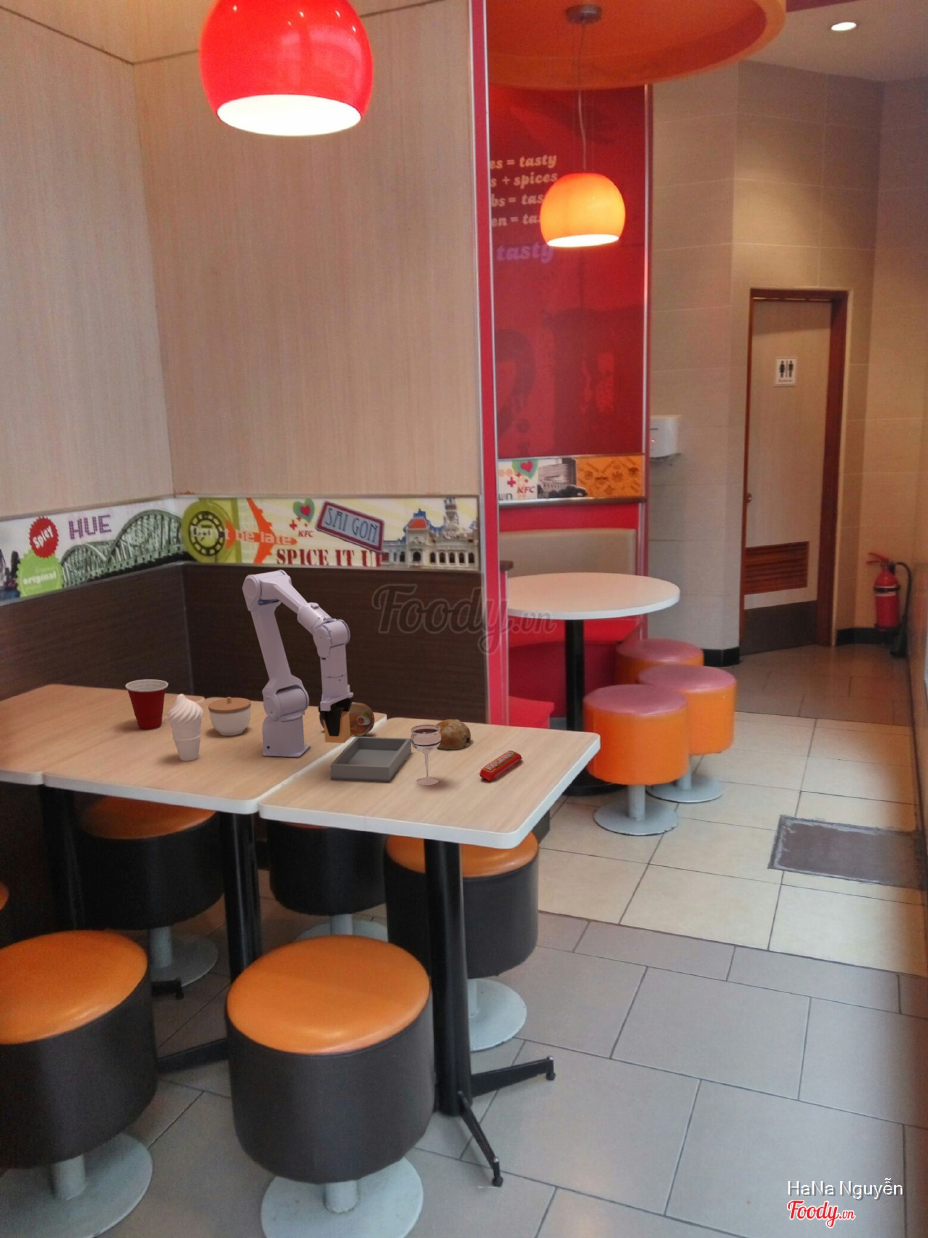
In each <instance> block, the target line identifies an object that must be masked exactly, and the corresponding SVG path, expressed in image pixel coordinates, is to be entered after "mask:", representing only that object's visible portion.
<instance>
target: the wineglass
mask: <svg viewBox="0 0 928 1238" xmlns="http://www.w3.org/2000/svg"><path fill="white" fill-rule="evenodd" d="M440 729H441V728H440V727H439V726H436V724H418V725H415V726H413V727H411V728H410V729H409V730H410V732H411V735H410V739H411V746H412V747H413V748H414V749H415V750H416V751H418V752H421V753H423V755H424V763H425V771H426V773H425V775H426V776H425V777H420V778H418V779H417V780H416V783H417V785H421V786H433V785H436V784H438V783H439V781H440V780H439V779H438V778H437V777H434V776H429V755H430V754H431V752H433V751H436V749H438V748H437V747H438V746H439V745H440V742H441V734H440V733H439V731H440Z"/></svg>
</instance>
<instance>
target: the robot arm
mask: <svg viewBox="0 0 928 1238" xmlns="http://www.w3.org/2000/svg"><path fill="white" fill-rule="evenodd" d="M241 588H242V592H243V597H244V599H245V600H244V601H245V604H246V607H247V611H249V612H250V614H251V618H252V621H253V625H254V628H255V632H256V636H257V639H258V643H259V647H260V649H261V655H262V657H263V661H264V664H265V669H266V671H267V675H268V679H269V680H268V682H267V683H266V684H265V686H264V688H263V689H262V691H261V693H262V696H263V697H262V698H263V709H264V713H265V714H266V716H265V717H264V719H263V720H262V721H263V722H262V727H261V730H262V732H261V733H262V734H261V735H262V747H263V753H262V756H265V757H285V758H286V757H289V758H300V757H301V756H302V755H303V754H305V753H306V752H307V751H308V750H309V749H310V747H311V744H307V743H305V733H304V720H303V719H304V718H303V716H304V715H306V714H305V713H306V710H307V709H308V708H309V705H310V697H309V694H308V691H307V690H306V689H305V687H304V685H303V682H302V680H301V679H300V678H298V677H296V676H295V675H293V674H292V673H291V668H290V665H289V662H288V659H287V655H286V651H285V647H284V643H283V640H282V637H281V633H280V629H279V625H278V622H277V619H276V615H275V611H276V609H277V607H279V606H280V605H281V603H282V604H284V605H285V606H286V607H287V608H288V609H290V610H291V611H293V612H294V613H295V614H297V616H296V618H297V619H296V620H297V622H298V623H299V624H300V625H301V626H302V627H303V628H305V629H306V631H308V632H309V633H310V634H311V635H312V639H313V642H314V645H315V646H316V649H317V654H318V655H317V656H318V657H319V659H320V672H321V673H320V674H321V688H322V689H321V690H322V691H321V692H322V694H321V701H320V702H319V706H318V707H317V711H318V713H319V714H321V715H322V717H323V719H324V721H325V724H326V727H327V730H328V733H329V736H339V732H340V720H341V715H342V712H343V711H345V712H349V710H350V707H351V704H352V702H354V692H351V686H350V685H351V684H349V683H348V670H347V652H346V651H347V650H346V645H347V644H348V643H349V642H350V638H351V631H350V628H349V625H348V624H347V623H346V622H345V620H343V619H336V618H332V617H331V616H330V615H329V614H328V613H327V612H326V611H325V610H324V609H322V608H321V607H320V605H319V604H318V603H317V602H308V601H306V599H305V598H304V597H303V596H302V594H301V593H299V591H297V590H296V588H294V586H293V583H292V578H291V576H289V575H288V574H287V572H286V571H284V570H283V569H278V570H275V571H269V572H264V573H257V574H248V575H247V576H246V577H245V579H244V581H243V583H242V587H241ZM285 688H286V689H285ZM281 689H283V690H281ZM279 690H280V691H279Z"/></svg>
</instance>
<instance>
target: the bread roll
mask: <svg viewBox="0 0 928 1238" xmlns="http://www.w3.org/2000/svg"><path fill="white" fill-rule="evenodd" d="M435 725H436V726H439V727H440V728H441V729H440V731H439V733H440V734H441V742H440V745H439V746H438V747H437V748H436V749H438V750H444V751H450V750H453V751H454V750H460V749H464V748H468V747H469V746H470V745H471V744H470V742H471V738H472V736H471V735H472V734H471V730H470V728H469V727H468V725H467V724H466V723H464V722H463V721H461V720H460V719H451V718H448V719H445V720H442V721H440V722H438V723H437V724H435Z"/></svg>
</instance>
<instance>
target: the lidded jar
mask: <svg viewBox="0 0 928 1238" xmlns="http://www.w3.org/2000/svg"><path fill="white" fill-rule="evenodd" d="M251 706H252V702H251V700H249V699H248V698H242V697H231V696H227V697H226V698H220V699H218V700H214V701H211V702H210V703H209V704H208V708H207V709H208V711H209V712H208V713H209V718H210V719H209V720H210V722H211V726H212V727H213V728H214V729H215V730H216V732H218V733H219V735H220V736H225V737H227V736H228V737H230V736H236V735H240V734H242V733H244V731H245V729H246V728H247V727H248V726H249V724H250V721H251V715H252V707H251Z"/></svg>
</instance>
